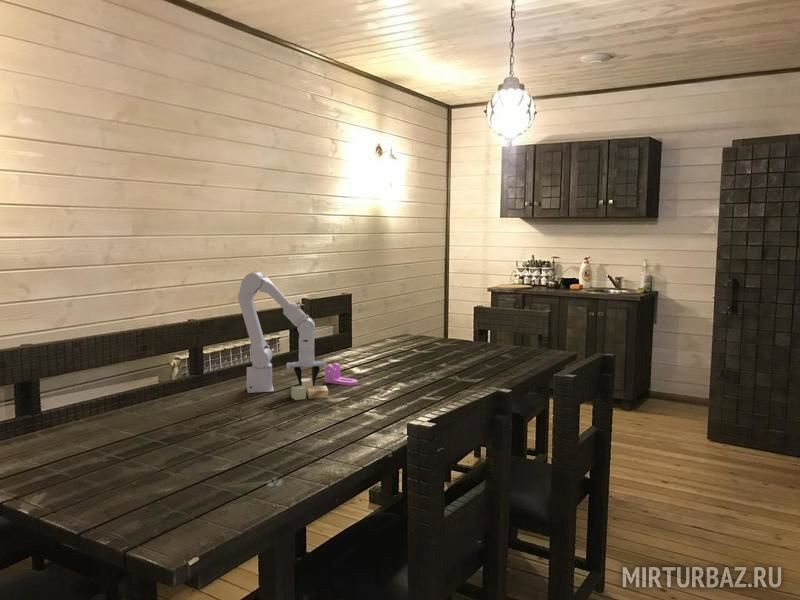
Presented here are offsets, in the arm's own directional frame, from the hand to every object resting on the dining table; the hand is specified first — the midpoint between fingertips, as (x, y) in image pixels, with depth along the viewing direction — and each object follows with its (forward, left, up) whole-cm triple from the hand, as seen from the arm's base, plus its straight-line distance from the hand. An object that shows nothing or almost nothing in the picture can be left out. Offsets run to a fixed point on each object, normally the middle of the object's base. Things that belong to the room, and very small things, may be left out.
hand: (306, 386), depth 238 cm
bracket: (+15, +9, -2) cm, 18 cm away
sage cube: (-4, -10, -2) cm, 11 cm away
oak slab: (+3, -8, -2) cm, 9 cm away
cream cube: (0, 0, -1) cm, 1 cm away
